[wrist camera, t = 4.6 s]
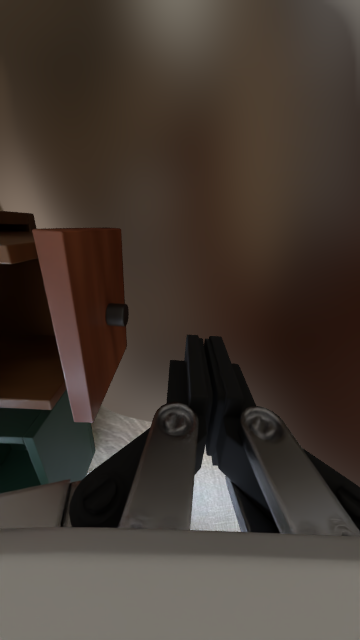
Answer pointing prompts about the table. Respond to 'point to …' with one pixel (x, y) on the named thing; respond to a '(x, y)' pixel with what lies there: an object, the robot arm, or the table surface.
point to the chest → (43, 446)
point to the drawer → (60, 317)
